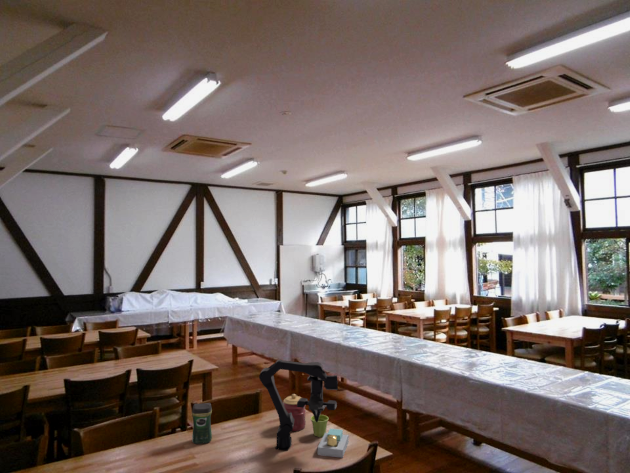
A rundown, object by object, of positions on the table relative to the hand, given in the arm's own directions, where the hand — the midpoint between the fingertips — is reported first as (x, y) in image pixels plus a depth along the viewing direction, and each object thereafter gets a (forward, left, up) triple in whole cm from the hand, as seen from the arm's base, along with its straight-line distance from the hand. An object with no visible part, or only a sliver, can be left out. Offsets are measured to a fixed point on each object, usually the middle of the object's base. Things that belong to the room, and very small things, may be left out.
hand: (316, 421), depth 210 cm
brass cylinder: (+8, -2, -12) cm, 15 cm away
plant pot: (-2, +15, -13) cm, 20 cm away
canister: (-18, +22, -13) cm, 31 cm away
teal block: (+8, +6, -9) cm, 13 cm away
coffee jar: (-58, -6, -13) cm, 60 cm away
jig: (+8, +1, -13) cm, 15 cm away
